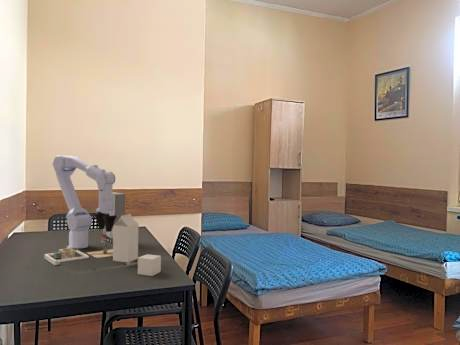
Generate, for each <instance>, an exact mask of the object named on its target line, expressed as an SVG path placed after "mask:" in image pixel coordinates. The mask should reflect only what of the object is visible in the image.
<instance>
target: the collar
mask: <svg viewBox="0 0 460 345" xmlns="http://www.w3.org/2000/svg"><path fill="white" fill-rule="evenodd" d="M75 250H76V249H75V248H71V247H70V248H67V247H66V248H60V249H58V250H57V252H53V253H54V255H53V256H54V258H53V259H60V260H61V259H68V258H75V257H76V252H75Z"/></svg>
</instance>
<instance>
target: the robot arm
mask: <svg viewBox="0 0 460 345" xmlns="http://www.w3.org/2000/svg"><path fill="white" fill-rule="evenodd" d="M52 167H53V169H54V172H55V174H56V179H57V182H58V185H59V188H60V190H61V192H62V196H63V198H64V201H65V204H66V206H67V208H68V213H67V214H66V215H65V216H66V223H67V227H68V229H69V233H68V246H66V249H67V248H72V249H76V250H79V249H85V248H88V246H89V230H90V227H91V226H92V224H93V223H92V222H93V218H92V216H91V215H90V214H89V212H88V210H87V209H85V208H83V207H82V204H81V202H80V199H79V197H78V194H77V191H76V190H75V186H74V184H73V181H72V179H71V176H72V175H73V174H74V173H75V171H76V170H77V169H79V170H80V171H83V172H84V173H85V174H86V177H88V178H90V179H92V180H93V181H95V182H96V184H97V189H98V207H97V208H96V209H95V212H96V213H94V217H95V219H96V222H97V227H98V230H103V229H104V227H105V228H106V232H111V231H112V227H113V224H114V221H115V219H116V217H117V216H116V215H115V211H113V209H112V192H113V185H114V184H115V182H116V175H115V173H113V172H112V171H108V172H107V171H106V169H103V168H100V167H99V165H98V164H91V165H89V164H88V163H87V162H85V161H83V160H82V159H80V157H78V156H76V155H61V154H57V155H55V156H54V159H53V161H52Z"/></svg>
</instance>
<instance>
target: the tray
mask: <svg viewBox="0 0 460 345" xmlns="http://www.w3.org/2000/svg"><path fill="white" fill-rule="evenodd" d="M74 250H75V253H77V254H79V255H80V256H75V257H74V258H67V259H61V258H60V259H56V258H53V257H52V256H54V253H55V252H51V253H45V254H44V259H43V260H46V261H48V262H49V263H50V264H51V265H53V266H60V265H61V266H62V263H64V262H70V261H71V262H72V261H77V260H78V261H79V260H83V259H89V258H90V256H89V254H87V253H84V252H82V251H80V250H79V249H74Z"/></svg>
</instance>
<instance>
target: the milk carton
mask: <svg viewBox="0 0 460 345" xmlns="http://www.w3.org/2000/svg"><path fill="white" fill-rule="evenodd" d="M112 249H113V256H112V261H113V262H119V263H123V265H131V264H133V263H134V261H135V260H138V258H139V223H138V222H137V221H136V220H135V219H134V217H132V213H128V214H125V215H123V216H121V218H120V219H119V220H118V222H117V223H116V224H114V225H113V245H112Z"/></svg>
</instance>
